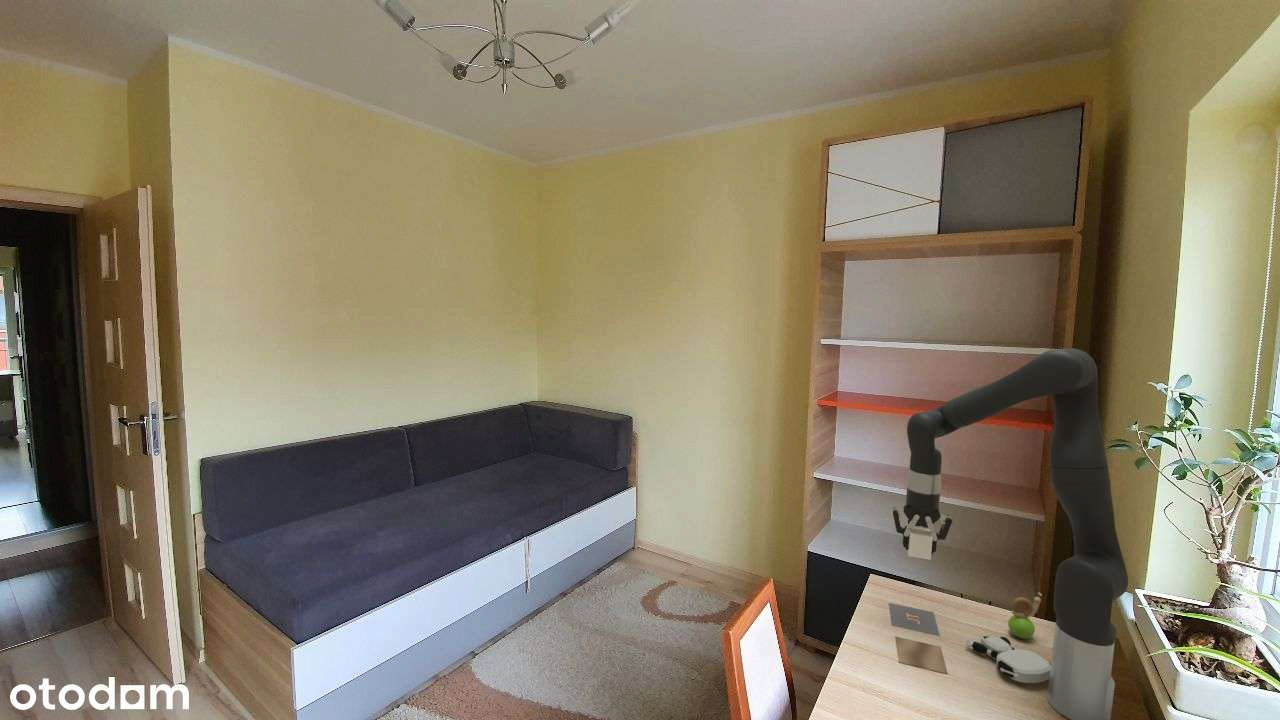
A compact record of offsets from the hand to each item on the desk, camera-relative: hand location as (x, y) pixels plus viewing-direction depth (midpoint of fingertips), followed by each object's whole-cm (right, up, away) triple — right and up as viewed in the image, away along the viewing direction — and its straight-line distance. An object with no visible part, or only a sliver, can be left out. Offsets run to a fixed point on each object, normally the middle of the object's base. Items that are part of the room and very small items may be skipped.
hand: (918, 550), depth 136 cm
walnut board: (-6, -21, -12) cm, 25 cm away
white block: (0, -1, 0) cm, 1 cm away
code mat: (0, -19, +2) cm, 19 cm away
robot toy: (+13, -22, -15) cm, 29 cm away
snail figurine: (+24, -20, -4) cm, 32 cm away
